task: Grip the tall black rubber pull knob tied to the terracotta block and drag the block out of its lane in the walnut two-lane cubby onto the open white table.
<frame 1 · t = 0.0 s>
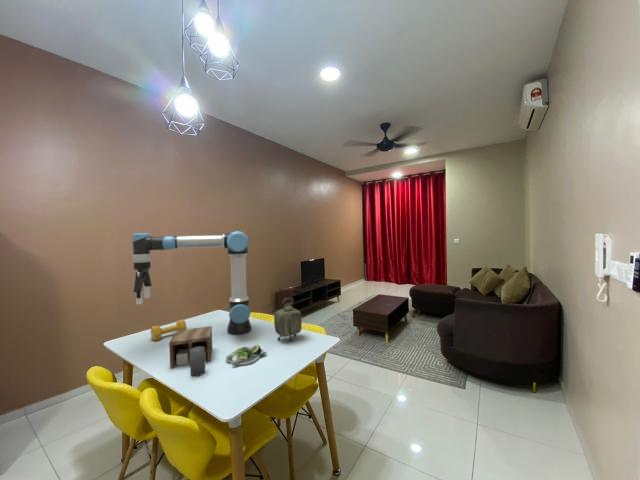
hand: (143, 301, 139), 28 cm above the table, tool pointing down, fingers open, 13 cm apart
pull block: (200, 359, 130), on the table
lane shelf: (192, 357, 133), on the table
salad plate: (246, 357, 133), on the table
dumbbell: (169, 336, 163), on the table
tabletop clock: (289, 340, 153), on the table
grey lane block: (183, 361, 130), resting in lane shelf
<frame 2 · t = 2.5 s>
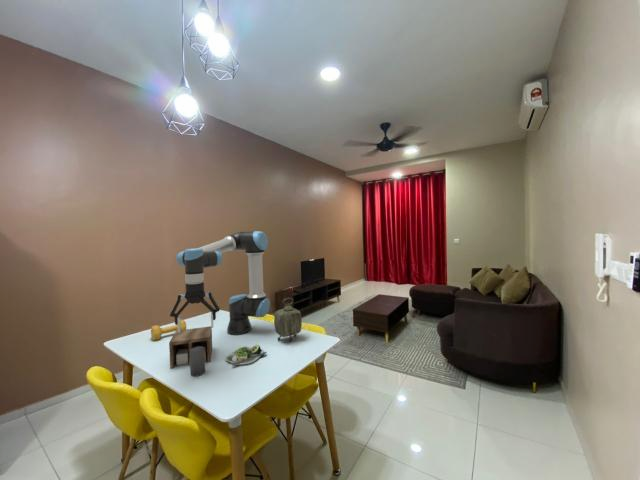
hand: (196, 329, 117), 20 cm above the table, tool pointing down, fingers open, 13 cm apart
nothing on the table moved.
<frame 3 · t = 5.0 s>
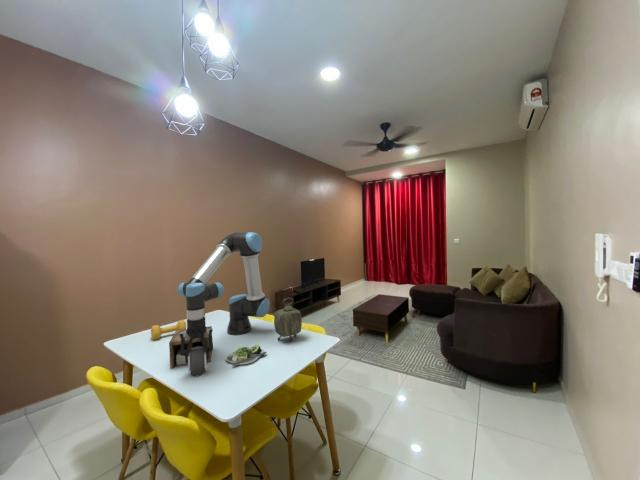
hand: (197, 367, 118), 2 cm above the table, tool pointing down, fingers closed on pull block, 6 cm apart
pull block: (200, 359, 130), on the table, touching gripper
everything else where it was.
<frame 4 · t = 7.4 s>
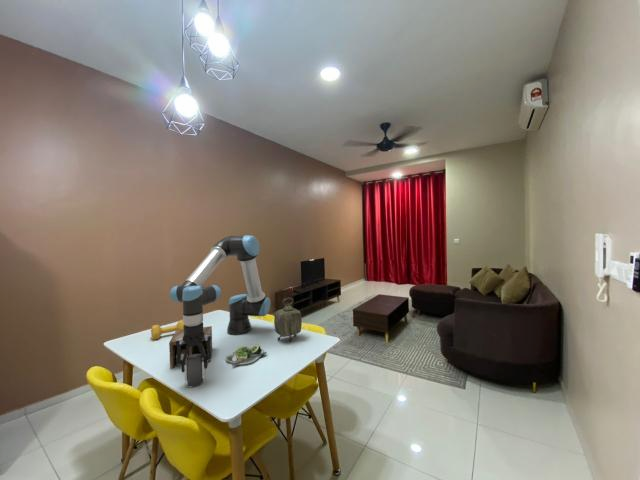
hand: (195, 377, 110), 3 cm above the table, tool pointing down, fingers closed on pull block, 6 cm apart
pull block: (198, 367, 122), on the table, touching gripper
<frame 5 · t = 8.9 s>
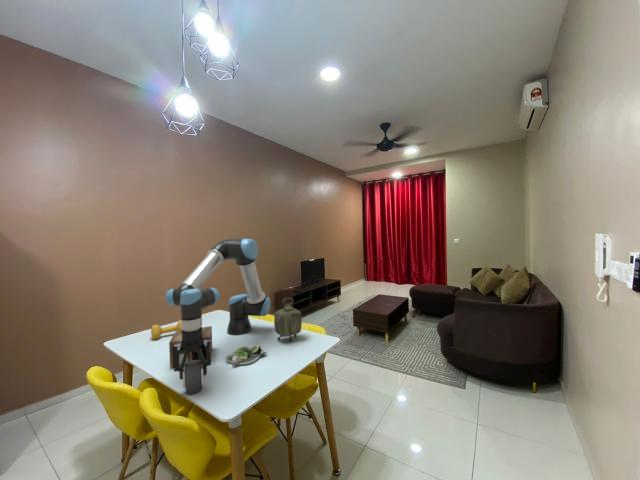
hand: (193, 384, 105), 2 cm above the table, tool pointing down, fingers closed on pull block, 6 cm apart
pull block: (197, 373, 117), on the table, touching gripper
when the fingers open (2 cm above the table, at t = 9.9 s): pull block stays where it is, on the table.
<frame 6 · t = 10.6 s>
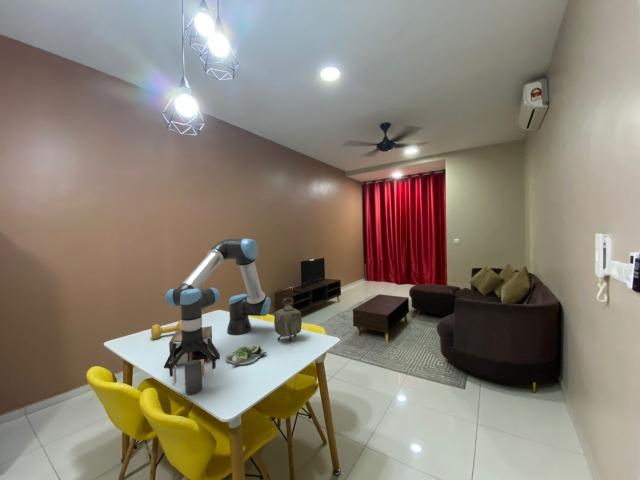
hand: (193, 380, 105), 4 cm above the table, tool pointing down, fingers open, 13 cm apart
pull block: (197, 374, 117), on the table
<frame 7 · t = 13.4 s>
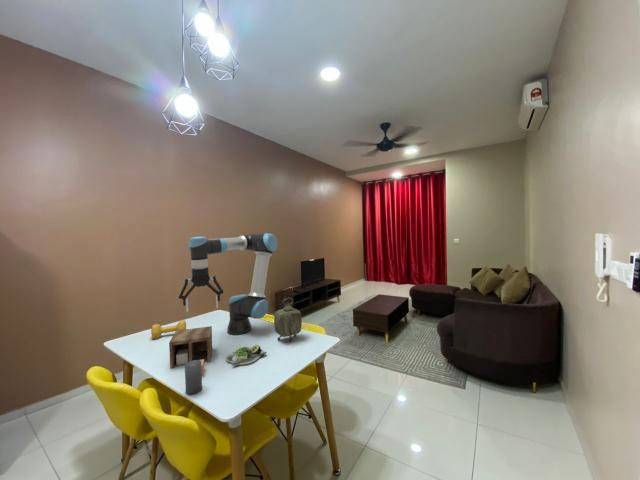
hand: (202, 309, 130), 25 cm above the table, tool pointing down, fingers open, 13 cm apart
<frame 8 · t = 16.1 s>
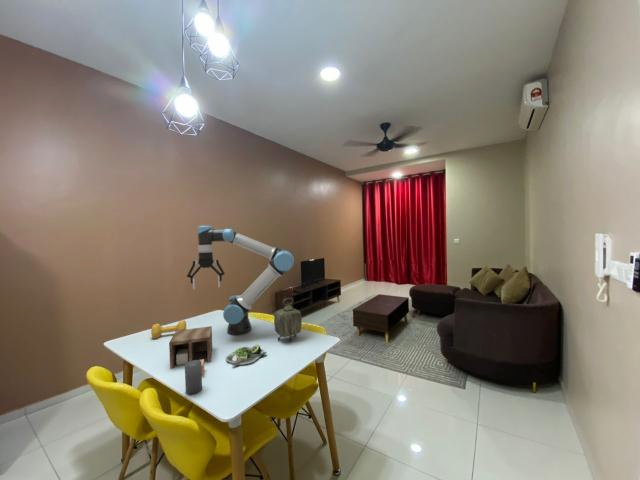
hand: (206, 287, 153), 32 cm above the table, tool pointing down, fingers open, 13 cm apart
at the end: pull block inside the target area (2.0 cm from its centre), on the table; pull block tilted 0°; the gripper is holding nothing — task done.
